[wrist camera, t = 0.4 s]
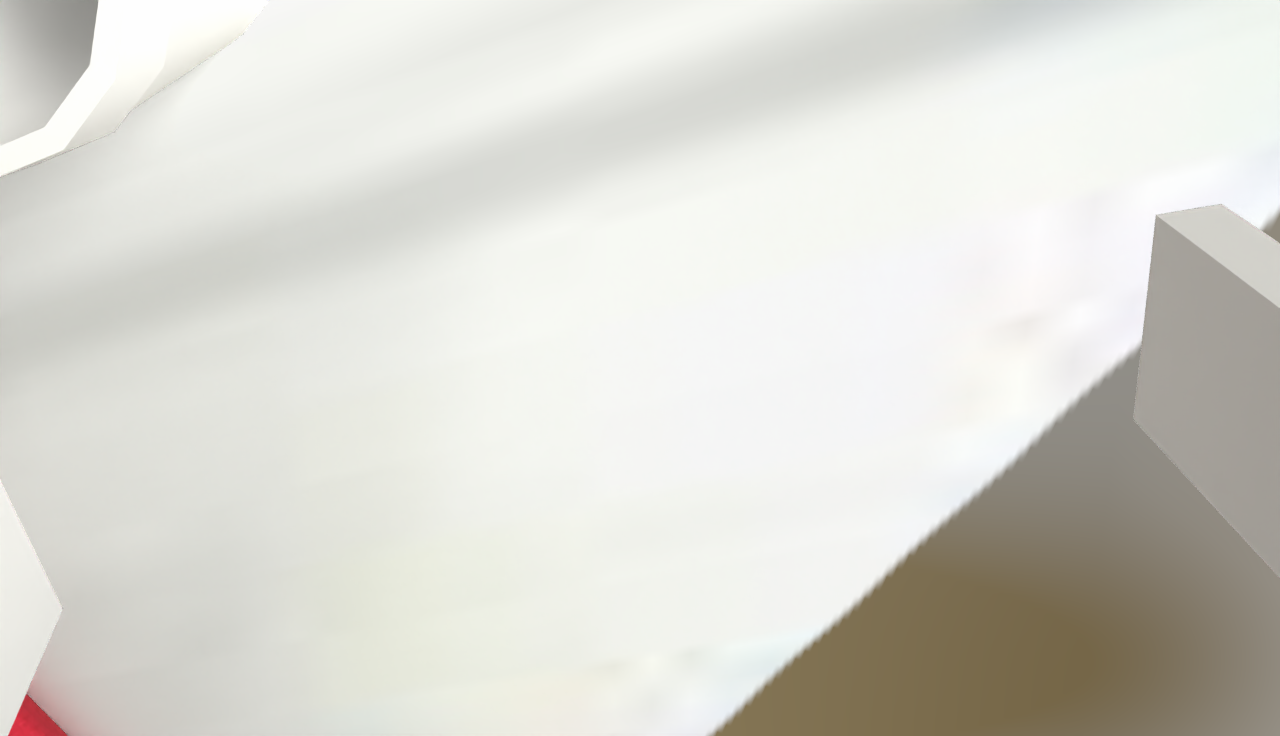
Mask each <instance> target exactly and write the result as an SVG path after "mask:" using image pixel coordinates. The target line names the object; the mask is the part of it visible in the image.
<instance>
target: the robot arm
mask: <svg viewBox="0 0 1280 736" xmlns="http://www.w3.org/2000/svg"><path fill="white" fill-rule="evenodd" d="M1133 420H1134V421H1135V422H1136V423H1137V424H1138V425H1139V426H1140V427H1141V429H1142V430H1143V431H1144V432H1145V433H1146V434H1147V435H1148V436H1149V437H1150V438H1151V439H1152V440H1153V441H1154V442H1155V444H1156V445H1157V446H1158V447H1159V448H1160V449H1161V450H1162V451H1163V452H1164V453H1165V455H1166V456H1167V457H1168V458H1169V459H1170V460H1171V461H1172V462H1173V463H1174V464H1175V465H1176V466H1177V468H1179V470H1180V471H1181V472H1182V473H1183V474H1184V475H1185V476H1186V477H1187V478H1188V479H1189V481H1190V482H1191V483H1192V484H1193V485H1194V486H1195V487H1196V488H1197V489H1198V490H1199V491H1200V492H1201V493H1202V495H1203V496H1204V497H1205V498H1206V499H1207V500H1208V501H1209V502H1210V503H1211V504H1212V505H1213V507H1214V508H1215V509H1216V510H1217V511H1218V512H1219V513H1220V514H1221V515H1222V516H1223V517H1224V518H1225V519H1226V521H1227V522H1228V523H1229V524H1230V525H1231V526H1232V527H1233V528H1234V529H1235V530H1236V531H1237V533H1238V534H1239V535H1240V536H1241V537H1242V538H1243V539H1244V540H1245V541H1246V542H1247V543H1248V544H1249V546H1250V547H1251V548H1252V549H1253V550H1254V551H1255V552H1256V553H1257V554H1258V555H1259V556H1260V558H1261V559H1262V560H1263V561H1264V562H1265V563H1266V564H1267V565H1268V566H1269V567H1270V568H1271V569H1272V571H1273V572H1274V573H1275V574H1276V575H1277V576H1278V577H1279V578H1280V243H1279V242H1277V241H1276V240H1274V239H1273V238H1271V237H1270V236H1268V235H1267V234H1265V233H1264V232H1262V231H1261V230H1259V229H1258V228H1256V227H1255V226H1253V225H1252V224H1250V223H1249V222H1248V221H1246V220H1245V219H1243V218H1242V217H1240V216H1239V215H1237V214H1236V213H1234V212H1233V211H1231V210H1230V209H1228V208H1227V207H1225V206H1224V205H1222V204H1218V205H1212V206H1206V207H1200V208H1194V209H1188V210H1182V211H1176V212H1170V213H1164V214H1158V215H1156V219H1155V228H1154V237H1153V246H1152V255H1151V264H1150V273H1149V282H1148V291H1147V300H1146V309H1145V318H1144V327H1143V336H1142V345H1141V354H1140V363H1139V372H1138V381H1137V391H1136V399H1135V408H1134V417H1133ZM62 610H63V608H62V606H61V604H60V602H59V600H58V598H57V595H56V593H55V591H54V589H53V587H52V585H51V583H50V581H49V579H48V577H47V575H46V573H45V571H44V569H43V567H42V565H41V563H40V561H39V558H38V556H37V554H36V552H35V550H34V548H33V546H32V544H31V542H30V540H29V538H28V536H27V534H26V532H25V530H24V528H23V526H22V524H21V521H20V519H19V517H18V515H17V513H16V511H15V509H14V507H13V505H12V503H11V501H10V499H9V497H8V495H7V493H6V491H5V489H4V486H3V484H2V482H1V480H0V736H8V734H9V732H10V730H11V728H12V725H13V723H14V721H15V718H16V716H17V714H18V711H19V709H20V707H21V704H22V702H23V700H24V698H25V695H26V693H27V691H28V688H29V686H30V684H31V681H32V679H33V677H34V674H35V672H36V670H37V668H38V665H39V663H40V661H41V658H42V656H43V654H44V651H45V649H46V647H47V644H48V642H49V640H50V638H51V635H52V633H53V631H54V628H55V626H56V624H57V621H58V619H59V617H60V614H61V612H62Z"/></svg>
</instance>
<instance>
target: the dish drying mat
mask: <svg viewBox="0 0 1280 736" xmlns="http://www.w3.org/2000/svg"><path fill="white" fill-rule="evenodd" d="M8 736H67V735H66V734H65V733H64V732H63V731H62V730H61V729H60V728H59V727H58V725H57V724H56V723H55V722H54V721H53V720H52V719H51V718H50V717H49V716H48V715H47V714H46V713H45V712H44V711H43V710H42V709H41V708H40V707H39V706H38V705H37V704H36V703H35V702H34V701H33V700H32V699H31V698H30V697H29V696H28V695H27V694H26V695H25V698H24V700H23V702H22V704H21V707H20V709H19V711H18V714H17V716H16V718H15V721H14V723H13V725H12V728H11V730H10V732H9V734H8Z"/></svg>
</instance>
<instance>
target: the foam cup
mask: <svg viewBox="0 0 1280 736" xmlns="http://www.w3.org/2000/svg"><path fill="white" fill-rule="evenodd" d="M268 2H269V0H0V177H2V176H5V175H8V174H11V173H14V172H16V171H19V170H22V169H25V168H28V167H30V166H33V165H36V164H39V163H42V162H44V161H46V160H49V159H51V158H54V157H56V156H59V155H61V154H63V153H66V152H68V151H71V150H73V149H75V148H78V147H80V146H83V145H85V144H87V143H90V142H92V141H95V140H97V139H99V138H102V137H104V136H107V135H109V134H111V133H114V132H115V131H116V130H117V128H118V127H119V126H120V124H121V123H122V122H123V120H124V119H125V118H126V116H127V115H128V114H129V112H130V111H131V110H133V109H134V108H136V107H137V106H139V105H140V104H142V103H143V102H145V101H146V100H147V99H149V98H150V97H152V96H153V95H155V94H156V93H158V92H159V91H161V90H162V89H164V88H165V87H167V86H168V85H170V84H171V83H173V82H174V81H176V80H177V79H179V78H180V77H182V76H183V75H185V74H186V73H188V72H189V71H191V70H192V69H194V68H195V67H197V66H198V65H200V64H201V63H203V62H204V61H206V60H207V59H209V58H210V57H212V56H213V55H215V54H216V53H218V52H219V51H221V50H222V49H223V48H225V47H226V46H228V45H229V44H231V43H232V42H234V41H235V40H237V39H238V38H239V36H241V35H243V34H244V33H245V31H246V30H247V29H248V28H249V26H250V25H251V24H252V22H253V21H254V20H255V19H256V17H257V16H258V15H259V13H260V12H261V11H262V9H263V8H264V7H265V6H266V4H267V3H268Z"/></svg>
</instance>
